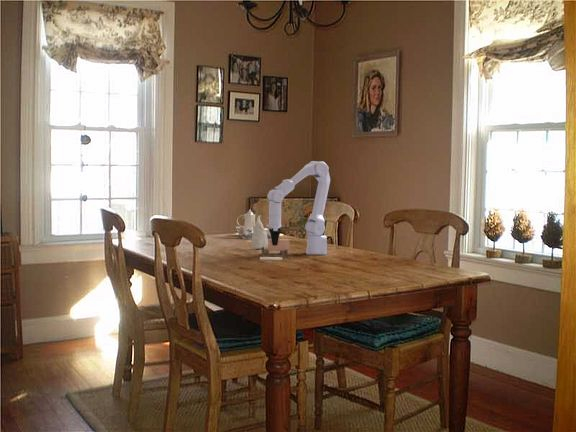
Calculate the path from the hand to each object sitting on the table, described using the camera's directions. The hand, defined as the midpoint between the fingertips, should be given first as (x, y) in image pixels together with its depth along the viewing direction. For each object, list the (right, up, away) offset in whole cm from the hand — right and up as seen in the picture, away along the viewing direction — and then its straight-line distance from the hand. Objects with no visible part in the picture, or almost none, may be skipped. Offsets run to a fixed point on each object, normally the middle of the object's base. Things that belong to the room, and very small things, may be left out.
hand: (274, 244), depth 322 cm
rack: (0, -5, 0) cm, 5 cm away
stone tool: (-8, -3, +20) cm, 22 cm away
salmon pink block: (+2, -3, 0) cm, 3 cm away
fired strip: (-1, -7, -10) cm, 12 cm away
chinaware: (-14, +1, +65) cm, 67 cm away
